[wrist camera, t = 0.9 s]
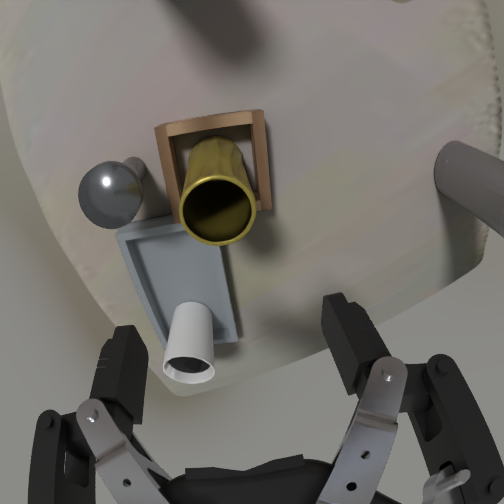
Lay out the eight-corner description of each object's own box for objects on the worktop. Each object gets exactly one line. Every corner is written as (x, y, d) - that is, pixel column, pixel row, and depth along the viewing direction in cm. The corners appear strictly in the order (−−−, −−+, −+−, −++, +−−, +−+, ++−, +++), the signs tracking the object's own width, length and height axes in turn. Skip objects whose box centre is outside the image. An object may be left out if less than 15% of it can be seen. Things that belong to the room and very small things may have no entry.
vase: (229, 194, 33) (240, 262, 21) (180, 176, 31) (160, 235, 19) (251, 148, 30) (279, 190, 18) (201, 127, 28) (191, 154, 16)
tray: (213, 207, 34) (214, 217, 31) (236, 328, 45) (238, 341, 43) (121, 224, 33) (115, 234, 31) (165, 337, 44) (164, 350, 42)
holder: (258, 109, 28) (263, 110, 26) (267, 199, 34) (271, 209, 31) (159, 124, 27) (154, 127, 25) (177, 213, 33) (174, 224, 31)
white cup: (220, 304, 40) (220, 360, 32) (209, 333, 44) (208, 386, 35) (174, 294, 39) (165, 351, 30) (168, 325, 42) (160, 378, 34)
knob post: (152, 139, 28) (130, 157, 20) (163, 188, 31) (147, 222, 24) (105, 151, 28) (70, 174, 20) (117, 198, 31) (90, 234, 23)
